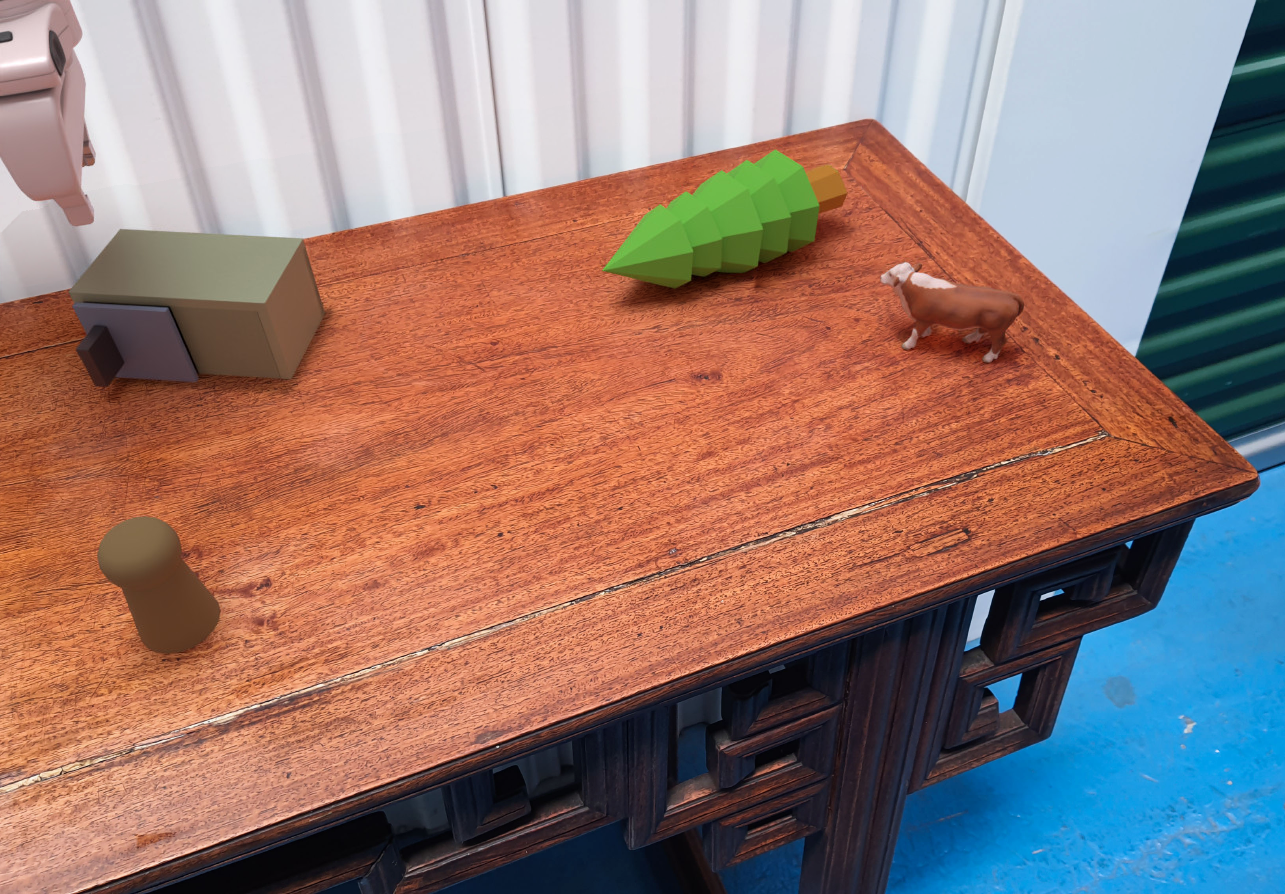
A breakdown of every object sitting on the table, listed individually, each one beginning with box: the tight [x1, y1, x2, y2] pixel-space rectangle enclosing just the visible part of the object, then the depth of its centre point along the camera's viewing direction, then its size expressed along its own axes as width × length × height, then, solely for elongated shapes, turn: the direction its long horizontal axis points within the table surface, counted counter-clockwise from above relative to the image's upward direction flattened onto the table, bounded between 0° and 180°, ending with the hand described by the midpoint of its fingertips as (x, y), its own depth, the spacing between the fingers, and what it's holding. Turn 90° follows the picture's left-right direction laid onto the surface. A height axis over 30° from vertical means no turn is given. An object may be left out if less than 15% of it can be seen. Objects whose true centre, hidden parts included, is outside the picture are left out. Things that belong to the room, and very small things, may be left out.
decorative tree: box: [601, 149, 849, 289], centre depth 103 cm, size 11×12×30 cm
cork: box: [96, 516, 221, 655], centre depth 71 cm, size 6×6×11 cm
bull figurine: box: [879, 261, 1025, 364], centre depth 95 cm, size 4×13×8 cm, turn 70°
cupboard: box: [68, 228, 326, 380], centre depth 94 cm, size 18×12×10 cm, turn 84°
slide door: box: [72, 302, 200, 388], centre depth 89 cm, size 9×4×8 cm, turn 84°
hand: (85, 190), depth 82 cm, fingers open, 8 cm apart
